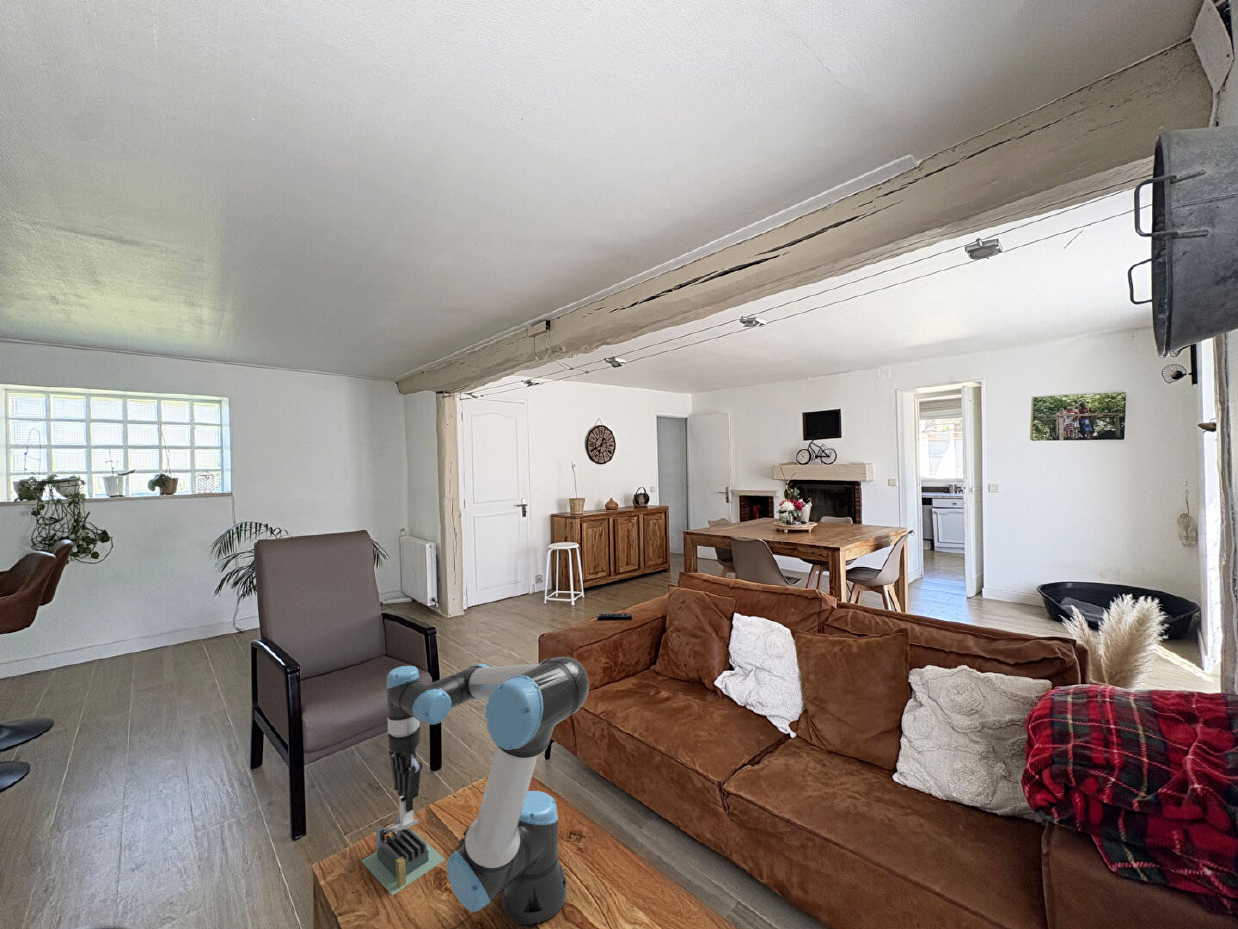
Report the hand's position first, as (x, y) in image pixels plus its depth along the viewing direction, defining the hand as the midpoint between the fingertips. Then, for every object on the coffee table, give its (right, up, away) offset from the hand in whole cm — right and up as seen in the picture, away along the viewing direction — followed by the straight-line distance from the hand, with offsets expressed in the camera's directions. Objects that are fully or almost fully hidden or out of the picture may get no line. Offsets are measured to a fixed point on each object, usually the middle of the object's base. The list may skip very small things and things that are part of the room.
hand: (406, 821), depth 131 cm
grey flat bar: (-2, -4, +2) cm, 5 cm away
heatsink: (-2, -11, +2) cm, 12 cm away
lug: (+1, -11, -6) cm, 13 cm away
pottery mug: (+18, -12, +7) cm, 23 cm away
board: (-2, -13, +2) cm, 13 cm away
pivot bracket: (-7, -12, +6) cm, 15 cm away
